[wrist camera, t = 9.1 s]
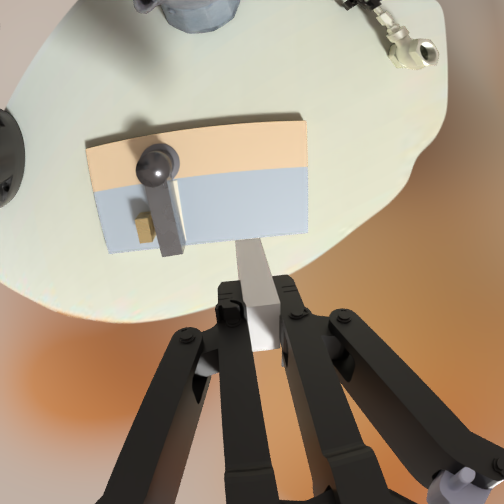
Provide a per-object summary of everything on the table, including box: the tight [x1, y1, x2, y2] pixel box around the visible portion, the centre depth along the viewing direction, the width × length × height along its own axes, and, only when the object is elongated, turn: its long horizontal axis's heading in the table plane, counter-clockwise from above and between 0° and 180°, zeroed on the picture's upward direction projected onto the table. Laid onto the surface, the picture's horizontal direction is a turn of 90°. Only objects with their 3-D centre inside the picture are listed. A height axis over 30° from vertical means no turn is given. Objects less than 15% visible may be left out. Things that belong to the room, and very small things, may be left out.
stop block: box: [135, 211, 156, 244], centre depth 34 cm, size 2×3×2 cm, turn 4°
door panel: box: [86, 121, 308, 254], centre depth 34 cm, size 26×14×1 cm, turn 94°
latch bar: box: [136, 149, 186, 257], centre depth 32 cm, size 12×4×4 cm, turn 7°
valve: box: [342, 0, 439, 70], centre depth 24 cm, size 7×7×12 cm
